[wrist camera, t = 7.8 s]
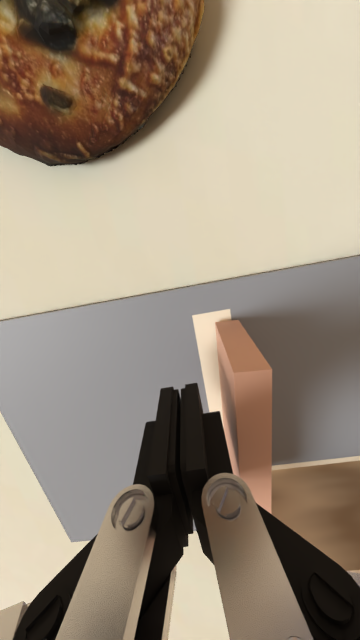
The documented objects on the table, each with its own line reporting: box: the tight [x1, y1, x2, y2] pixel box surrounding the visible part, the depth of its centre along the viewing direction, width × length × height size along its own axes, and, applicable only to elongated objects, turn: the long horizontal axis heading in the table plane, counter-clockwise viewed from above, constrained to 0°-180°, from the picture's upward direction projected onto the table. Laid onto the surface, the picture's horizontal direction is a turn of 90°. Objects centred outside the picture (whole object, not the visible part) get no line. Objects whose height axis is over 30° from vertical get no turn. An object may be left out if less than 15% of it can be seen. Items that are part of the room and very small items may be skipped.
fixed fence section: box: [271, 461, 360, 574], centre depth 13 cm, size 12×1×5 cm, turn 101°
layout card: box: [0, 255, 360, 542], centre depth 15 cm, size 26×19×1 cm
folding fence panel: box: [215, 320, 272, 514], centre depth 11 cm, size 11×1×5 cm, turn 7°
